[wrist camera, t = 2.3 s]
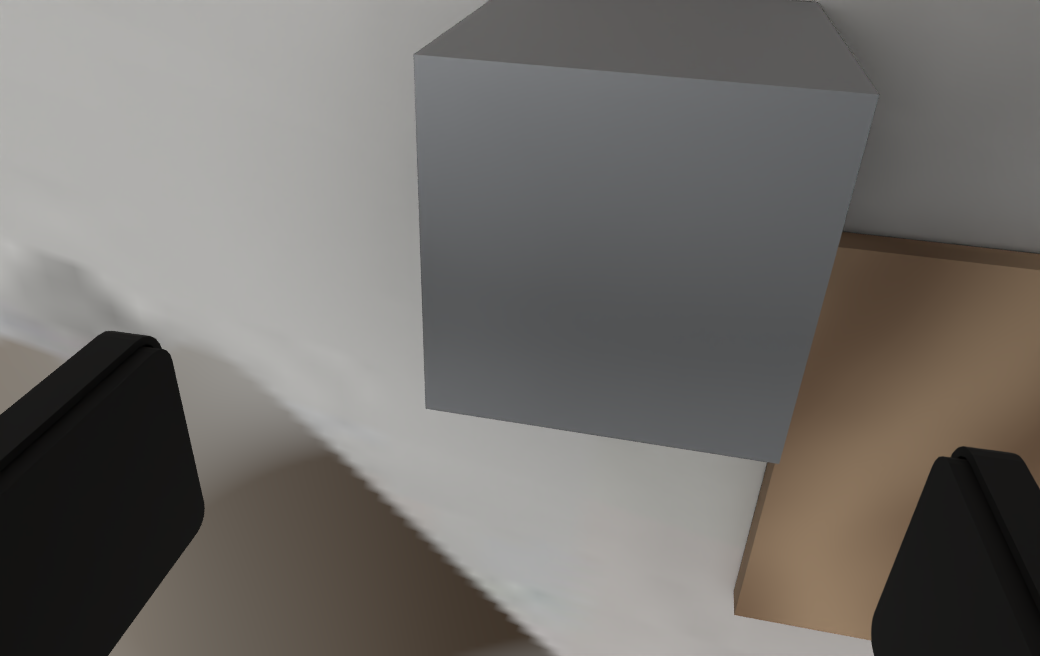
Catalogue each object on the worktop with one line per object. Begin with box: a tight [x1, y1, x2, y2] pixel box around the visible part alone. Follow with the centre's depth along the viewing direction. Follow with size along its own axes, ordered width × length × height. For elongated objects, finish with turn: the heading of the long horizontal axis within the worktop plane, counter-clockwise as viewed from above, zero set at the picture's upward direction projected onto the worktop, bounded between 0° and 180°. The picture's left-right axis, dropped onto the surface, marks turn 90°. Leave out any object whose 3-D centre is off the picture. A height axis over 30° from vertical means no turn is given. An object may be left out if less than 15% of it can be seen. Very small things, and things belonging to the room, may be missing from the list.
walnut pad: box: [734, 232, 1040, 640], centre depth 23 cm, size 14×14×1 cm
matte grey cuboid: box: [414, 0, 879, 464], centre depth 17 cm, size 7×7×8 cm
